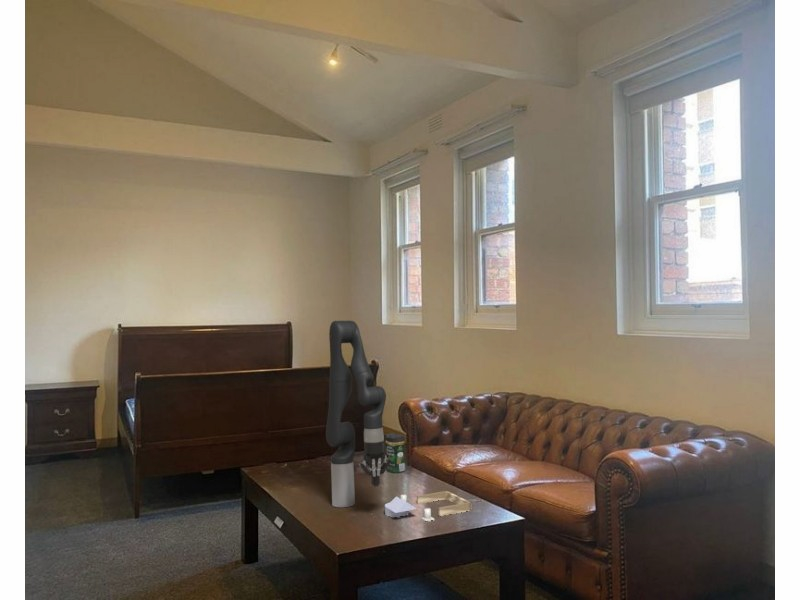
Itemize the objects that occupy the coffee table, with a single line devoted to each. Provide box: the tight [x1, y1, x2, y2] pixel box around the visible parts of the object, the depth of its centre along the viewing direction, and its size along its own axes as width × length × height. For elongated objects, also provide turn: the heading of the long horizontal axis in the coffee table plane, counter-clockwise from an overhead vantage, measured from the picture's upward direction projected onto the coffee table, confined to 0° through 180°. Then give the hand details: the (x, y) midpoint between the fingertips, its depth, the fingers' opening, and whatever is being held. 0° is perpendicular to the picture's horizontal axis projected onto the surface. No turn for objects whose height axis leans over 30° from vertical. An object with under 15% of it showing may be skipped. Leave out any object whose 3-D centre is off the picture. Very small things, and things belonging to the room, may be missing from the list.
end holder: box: [416, 490, 473, 517], centre depth 244 cm, size 19×14×3 cm
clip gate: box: [400, 493, 435, 522], centre depth 239 cm, size 25×4×4 cm, turn 25°
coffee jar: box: [385, 432, 406, 474], centre depth 304 cm, size 10×8×19 cm
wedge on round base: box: [384, 495, 417, 518], centre depth 236 cm, size 9×7×13 cm
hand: (375, 485), depth 232 cm, fingers closed
